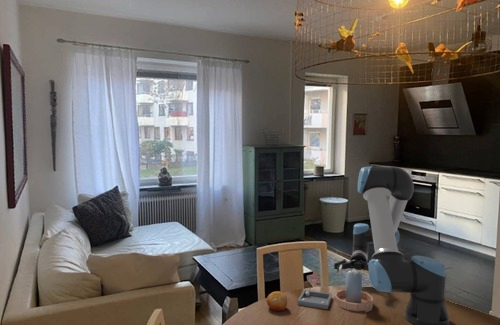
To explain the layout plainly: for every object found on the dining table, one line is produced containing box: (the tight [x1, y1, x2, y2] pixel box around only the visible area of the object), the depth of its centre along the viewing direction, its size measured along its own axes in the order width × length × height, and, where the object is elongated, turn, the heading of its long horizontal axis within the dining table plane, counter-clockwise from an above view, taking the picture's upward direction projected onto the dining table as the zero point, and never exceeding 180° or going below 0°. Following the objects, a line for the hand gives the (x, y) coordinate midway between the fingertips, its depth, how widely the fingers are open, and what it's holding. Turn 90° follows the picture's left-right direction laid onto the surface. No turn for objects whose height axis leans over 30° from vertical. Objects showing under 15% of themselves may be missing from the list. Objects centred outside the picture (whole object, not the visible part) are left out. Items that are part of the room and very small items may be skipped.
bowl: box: [333, 288, 374, 313], centre depth 157 cm, size 15×15×4 cm
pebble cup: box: [345, 269, 363, 303], centre depth 156 cm, size 6×6×13 cm
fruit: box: [266, 290, 288, 312], centre depth 151 cm, size 8×8×8 cm
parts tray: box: [297, 289, 333, 310], centre depth 158 cm, size 12×12×3 cm
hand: (355, 274), depth 165 cm, fingers open, 13 cm apart
